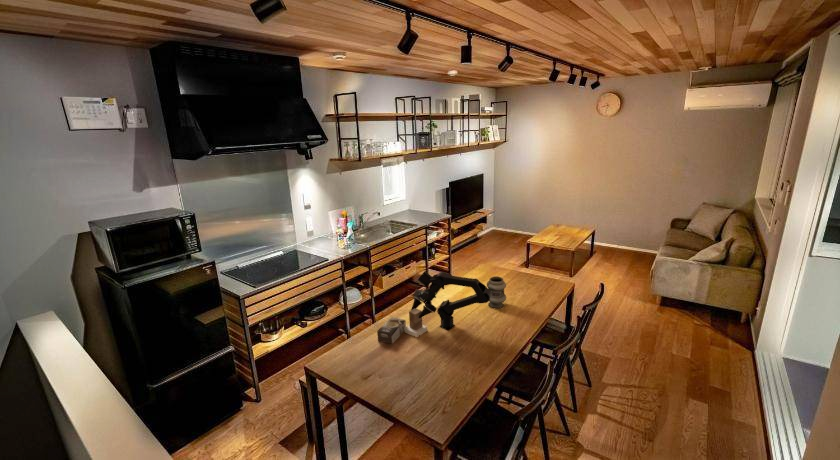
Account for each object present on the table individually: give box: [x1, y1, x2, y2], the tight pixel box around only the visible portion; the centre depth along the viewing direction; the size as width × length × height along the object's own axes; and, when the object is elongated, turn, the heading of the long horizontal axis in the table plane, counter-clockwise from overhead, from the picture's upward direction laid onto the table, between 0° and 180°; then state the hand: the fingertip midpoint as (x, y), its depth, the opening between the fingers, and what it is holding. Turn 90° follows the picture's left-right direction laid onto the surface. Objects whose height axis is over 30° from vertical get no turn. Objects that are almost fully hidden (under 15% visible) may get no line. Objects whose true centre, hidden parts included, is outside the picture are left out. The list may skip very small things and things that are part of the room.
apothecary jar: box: [486, 275, 507, 310], centre depth 237 cm, size 12×12×18 cm
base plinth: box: [404, 324, 428, 338], centre depth 215 cm, size 9×9×2 cm
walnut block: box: [408, 308, 423, 331], centre depth 213 cm, size 5×5×10 cm
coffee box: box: [376, 316, 407, 345], centre depth 212 cm, size 9×6×16 cm
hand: (415, 314), depth 212 cm, fingers open, 9 cm apart
